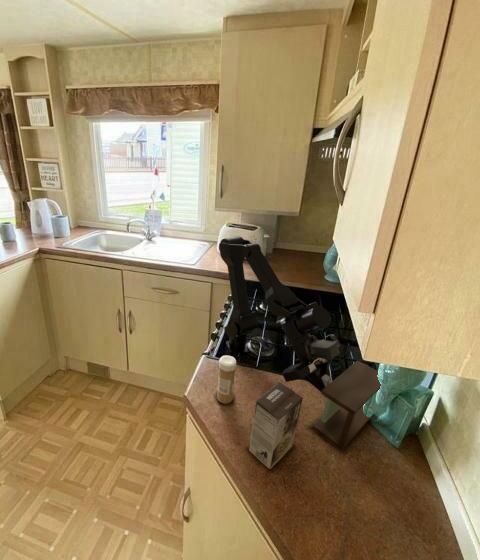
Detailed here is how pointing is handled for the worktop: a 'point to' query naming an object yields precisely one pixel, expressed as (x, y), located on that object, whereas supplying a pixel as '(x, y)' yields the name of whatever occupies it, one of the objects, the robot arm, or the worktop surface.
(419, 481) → the worktop surface
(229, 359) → the sprinkles bottle
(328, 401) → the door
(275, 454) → the coffee box
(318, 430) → the dark brown angular piece
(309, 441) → the worktop surface
